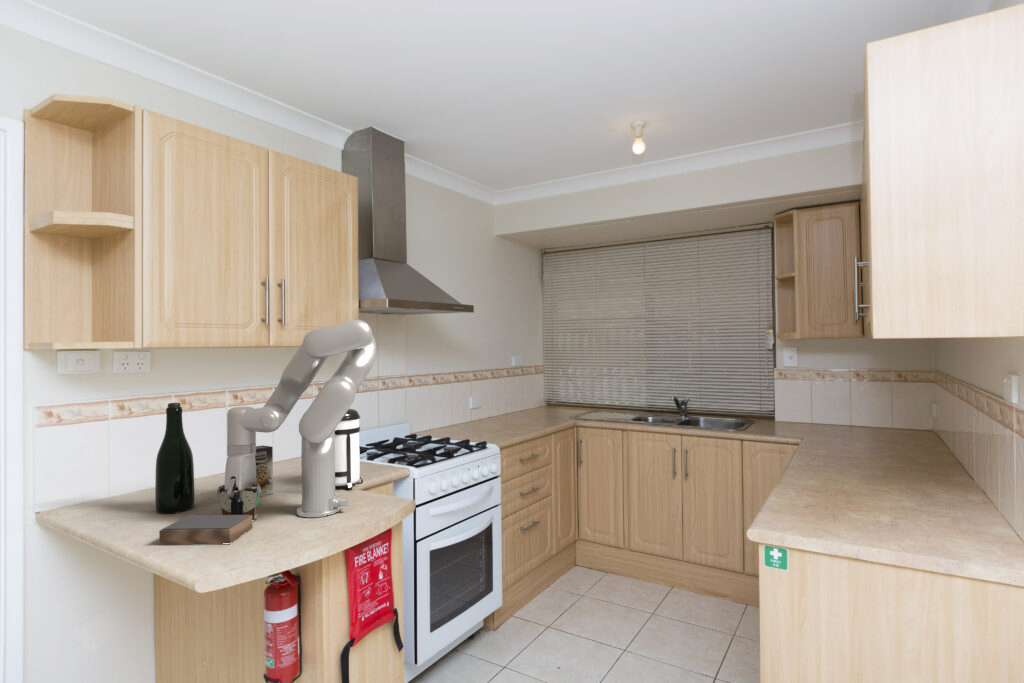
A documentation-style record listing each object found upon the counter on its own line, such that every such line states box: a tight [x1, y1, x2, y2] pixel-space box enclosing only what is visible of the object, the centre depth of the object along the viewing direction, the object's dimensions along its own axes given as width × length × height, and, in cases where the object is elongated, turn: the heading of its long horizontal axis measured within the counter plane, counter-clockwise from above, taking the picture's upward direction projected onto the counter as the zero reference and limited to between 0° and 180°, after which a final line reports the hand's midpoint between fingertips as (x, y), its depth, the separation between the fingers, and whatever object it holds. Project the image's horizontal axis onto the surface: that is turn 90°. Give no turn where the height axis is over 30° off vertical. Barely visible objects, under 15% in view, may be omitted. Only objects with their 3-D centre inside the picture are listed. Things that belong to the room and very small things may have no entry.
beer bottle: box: [154, 402, 196, 514], centre depth 173 cm, size 10×10×33 cm
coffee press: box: [335, 408, 364, 491], centre depth 197 cm, size 17×16×30 cm
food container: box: [216, 482, 261, 522], centre depth 163 cm, size 12×6×10 cm, turn 89°
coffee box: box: [255, 444, 274, 498], centre depth 188 cm, size 9×6×16 cm
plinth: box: [158, 514, 253, 546], centre depth 148 cm, size 18×12×4 cm, turn 89°
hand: (241, 511), depth 163 cm, fingers closed on food container, 5 cm apart
